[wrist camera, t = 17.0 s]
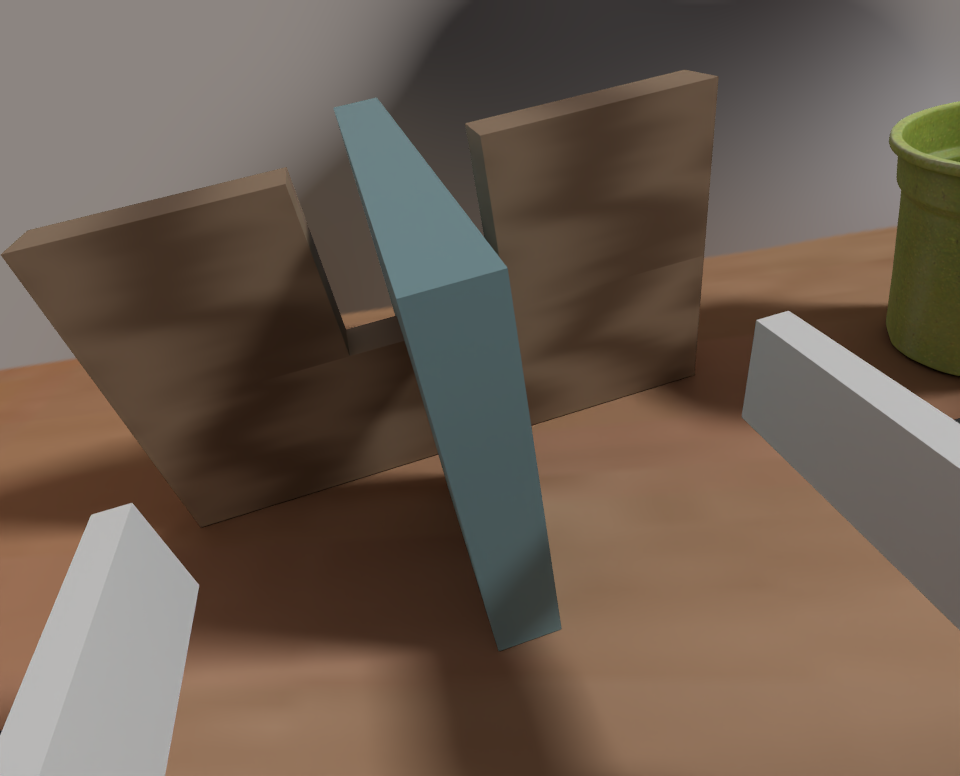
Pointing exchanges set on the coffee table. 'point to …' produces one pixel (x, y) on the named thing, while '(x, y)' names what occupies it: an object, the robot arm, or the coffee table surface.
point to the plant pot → (927, 239)
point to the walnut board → (380, 345)
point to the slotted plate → (460, 367)
